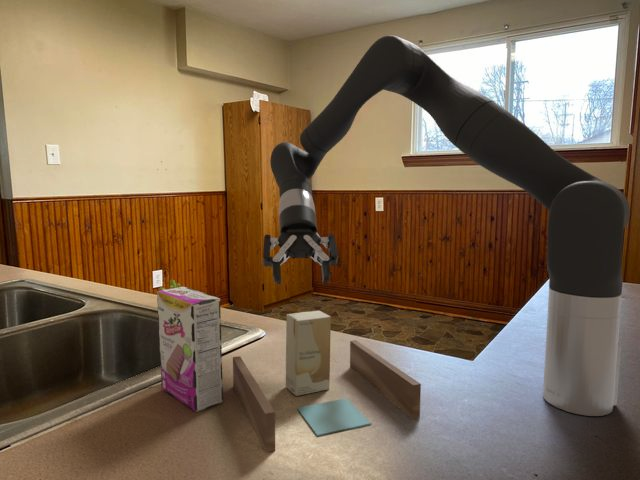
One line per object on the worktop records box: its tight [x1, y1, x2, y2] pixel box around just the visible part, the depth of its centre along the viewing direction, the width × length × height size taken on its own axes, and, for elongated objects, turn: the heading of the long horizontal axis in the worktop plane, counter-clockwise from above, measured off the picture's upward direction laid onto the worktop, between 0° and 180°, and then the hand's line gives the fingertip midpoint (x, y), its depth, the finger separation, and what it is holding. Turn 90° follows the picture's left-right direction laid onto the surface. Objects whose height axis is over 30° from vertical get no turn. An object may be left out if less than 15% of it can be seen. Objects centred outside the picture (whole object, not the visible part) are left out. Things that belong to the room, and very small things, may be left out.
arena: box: [232, 339, 422, 453], centre depth 68 cm, size 22×20×5 cm
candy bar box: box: [156, 286, 224, 413], centre depth 69 cm, size 11×5×16 cm, turn 45°
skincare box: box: [285, 310, 332, 397], centre depth 72 cm, size 6×4×12 cm
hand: (302, 281), depth 82 cm, fingers open, 8 cm apart
